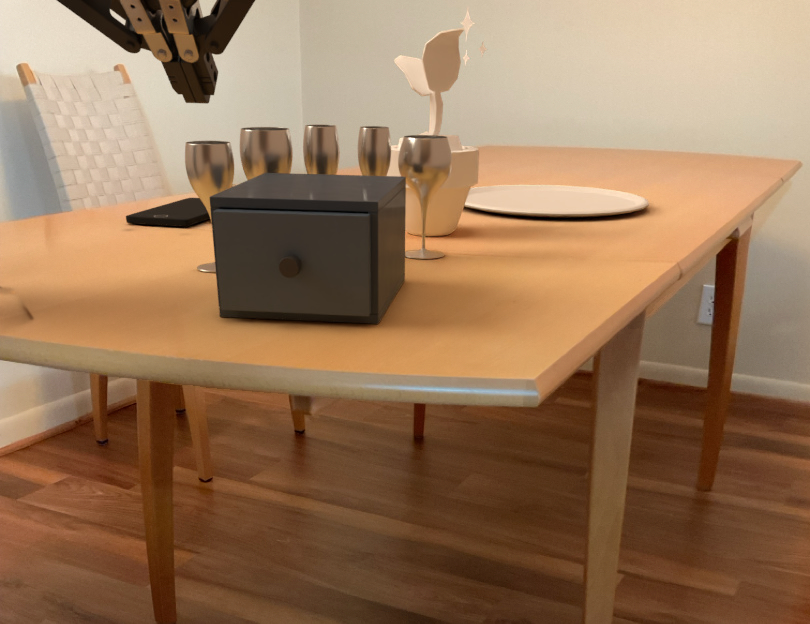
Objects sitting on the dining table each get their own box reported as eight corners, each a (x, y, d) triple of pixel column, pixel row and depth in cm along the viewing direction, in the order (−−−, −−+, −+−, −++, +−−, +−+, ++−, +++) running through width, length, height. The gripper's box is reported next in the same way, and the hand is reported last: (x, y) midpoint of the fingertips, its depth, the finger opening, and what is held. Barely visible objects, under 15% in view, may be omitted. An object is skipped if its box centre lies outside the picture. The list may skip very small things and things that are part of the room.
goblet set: (200, 275, 91) (186, 130, 85) (190, 264, 96) (177, 125, 90) (457, 258, 100) (462, 125, 94) (437, 248, 105) (440, 121, 99)
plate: (688, 208, 135) (689, 199, 134) (562, 229, 117) (563, 219, 117) (536, 187, 154) (537, 179, 153) (409, 203, 136) (409, 194, 136)
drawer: (366, 320, 73) (365, 218, 70) (216, 313, 75) (207, 213, 71) (395, 276, 88) (396, 189, 84) (269, 271, 89) (264, 186, 85)
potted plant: (494, 236, 112) (506, 0, 100) (410, 243, 107) (413, -4, 96) (442, 221, 122) (448, 4, 110) (363, 227, 117) (361, 1, 105)
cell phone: (125, 223, 117) (124, 215, 116) (190, 204, 132) (189, 197, 132) (187, 227, 115) (187, 219, 114) (246, 207, 130) (246, 200, 130)
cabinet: (378, 324, 76) (378, 201, 71) (219, 317, 77) (209, 196, 73) (404, 280, 90) (405, 176, 86) (270, 275, 92) (264, 172, 87)
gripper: (239, -240, 44) (306, 49, 61) (-19, -235, 45) (115, 45, 62) (213, -123, 42) (290, 143, 58) (-56, -122, 43) (93, 137, 60)
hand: (199, 92), depth 60 cm, fingers closed
